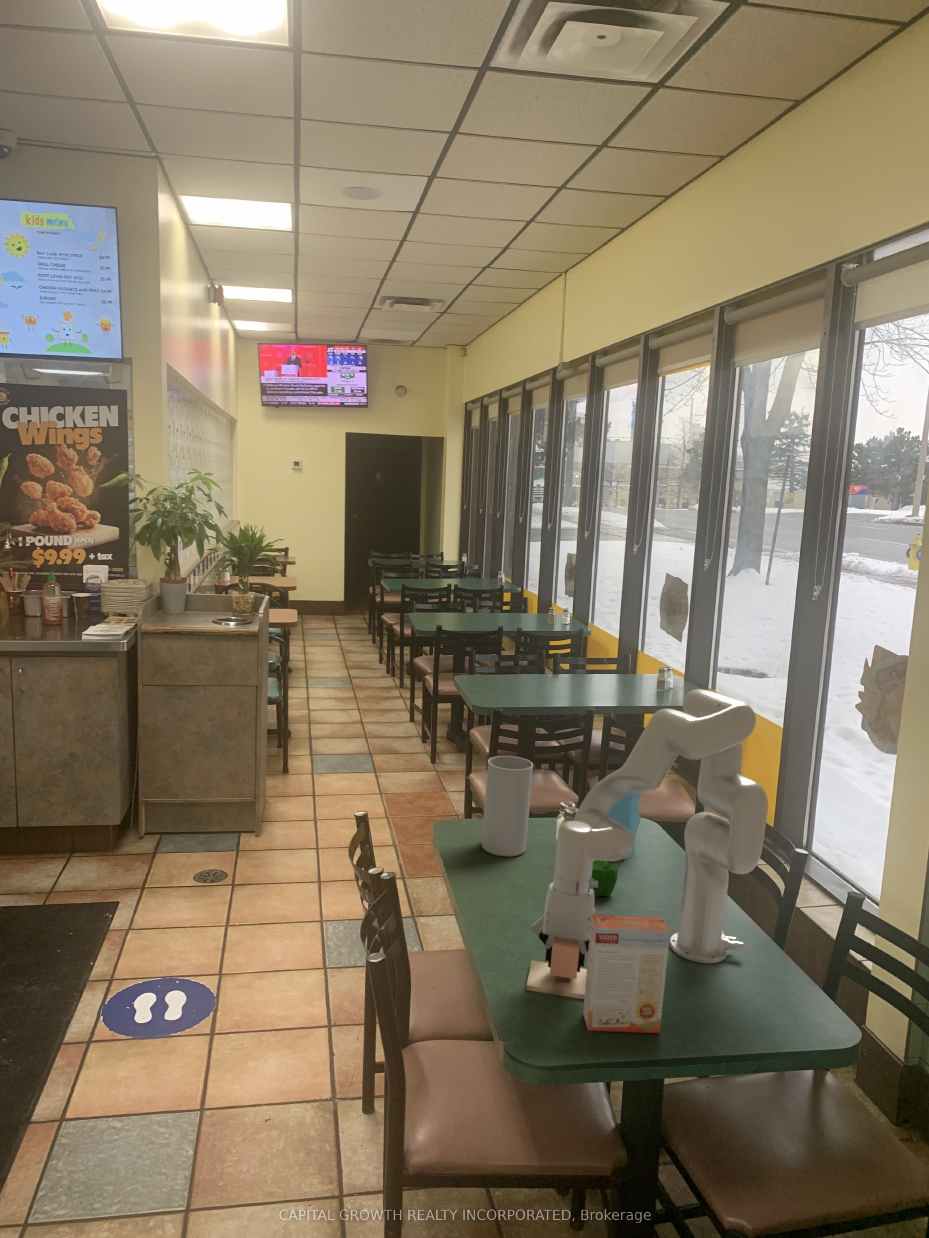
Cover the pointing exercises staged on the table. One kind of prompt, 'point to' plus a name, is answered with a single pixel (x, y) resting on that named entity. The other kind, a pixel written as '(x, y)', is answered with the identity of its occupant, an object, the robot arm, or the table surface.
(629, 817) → the light blue tall piece
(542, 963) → the post
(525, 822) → the cylinder vase
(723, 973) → the table surface
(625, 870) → the table surface
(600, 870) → the bell pepper
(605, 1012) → the cracker box
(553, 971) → the pale pink upright block
